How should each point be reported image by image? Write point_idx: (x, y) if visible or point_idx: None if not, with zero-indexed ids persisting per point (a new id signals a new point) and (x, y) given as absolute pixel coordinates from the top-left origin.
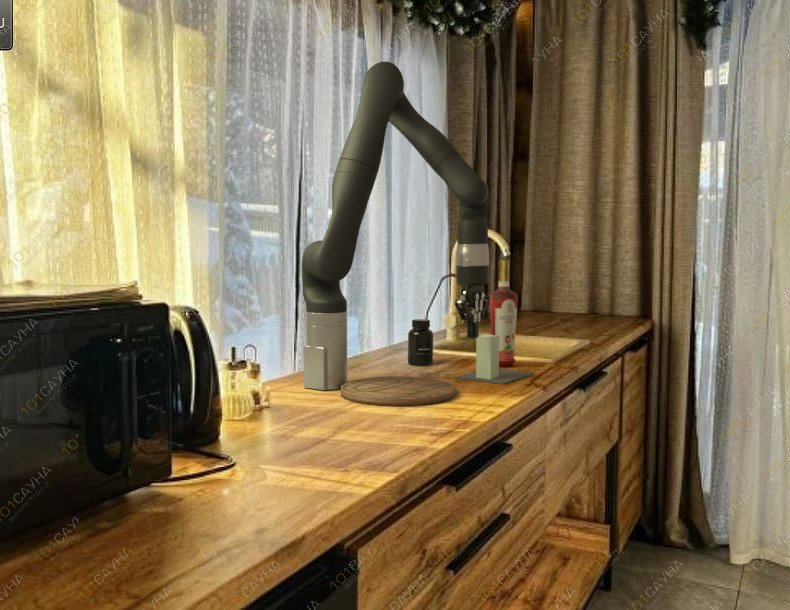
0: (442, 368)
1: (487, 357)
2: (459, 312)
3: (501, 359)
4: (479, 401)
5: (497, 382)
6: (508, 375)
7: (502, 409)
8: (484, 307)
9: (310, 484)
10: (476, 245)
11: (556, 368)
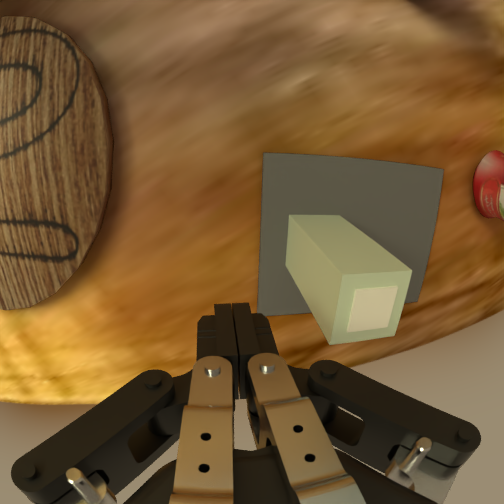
0: (389, 41)
1: (305, 285)
2: (88, 418)
3: (482, 195)
4: (58, 352)
5: (258, 298)
6: None
7: (52, 399)
8: (354, 455)
9: None
10: None
11: (482, 295)
